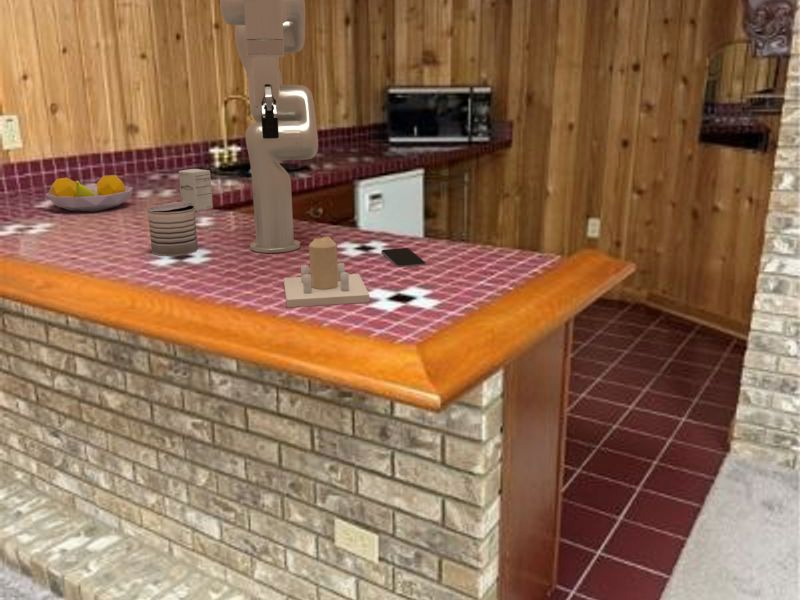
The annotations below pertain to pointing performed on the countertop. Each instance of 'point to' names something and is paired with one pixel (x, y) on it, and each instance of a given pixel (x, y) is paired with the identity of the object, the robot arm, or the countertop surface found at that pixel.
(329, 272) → the candle
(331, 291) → the plate
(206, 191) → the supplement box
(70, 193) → the fruit bowl
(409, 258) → the smartphone
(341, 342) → the countertop surface
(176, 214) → the can
